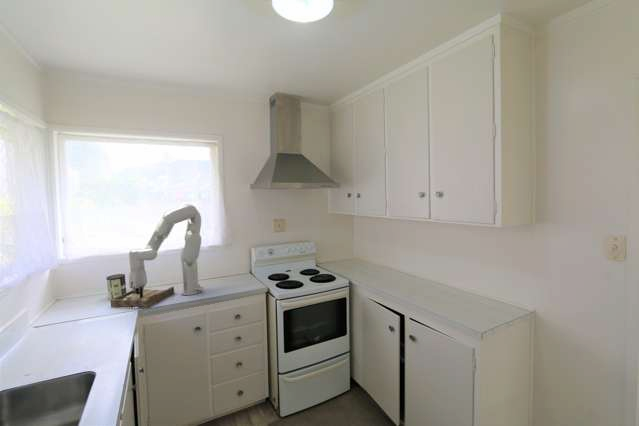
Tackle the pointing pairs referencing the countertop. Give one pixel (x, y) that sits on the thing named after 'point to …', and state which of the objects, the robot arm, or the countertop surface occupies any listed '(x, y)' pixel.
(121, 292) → the coffee can
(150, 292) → the wooden tray
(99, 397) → the countertop surface
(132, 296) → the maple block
